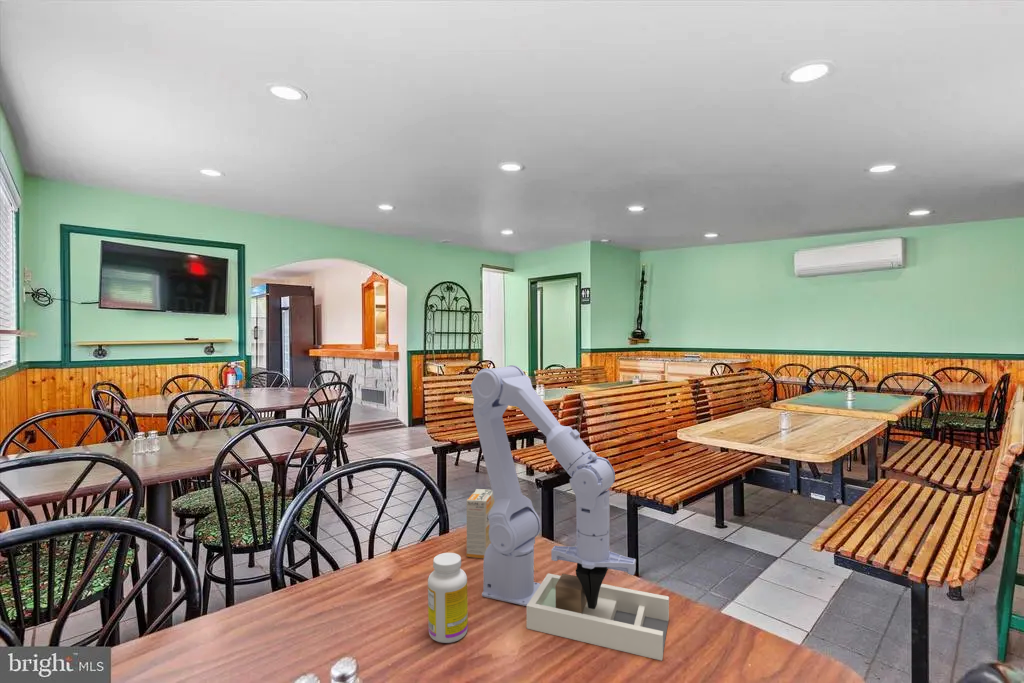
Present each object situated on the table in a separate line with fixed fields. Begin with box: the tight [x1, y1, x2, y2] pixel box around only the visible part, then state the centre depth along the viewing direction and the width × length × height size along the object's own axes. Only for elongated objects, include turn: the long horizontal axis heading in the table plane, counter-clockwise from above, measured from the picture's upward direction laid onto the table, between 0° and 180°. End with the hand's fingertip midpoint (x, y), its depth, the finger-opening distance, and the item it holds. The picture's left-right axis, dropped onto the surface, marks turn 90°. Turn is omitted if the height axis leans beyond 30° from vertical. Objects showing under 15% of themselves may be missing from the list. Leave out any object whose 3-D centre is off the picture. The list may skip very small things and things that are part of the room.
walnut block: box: [555, 573, 587, 614], centre depth 90 cm, size 4×4×4 cm
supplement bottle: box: [427, 552, 469, 644], centre depth 86 cm, size 7×7×13 cm
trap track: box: [526, 573, 670, 661], centre depth 89 cm, size 22×12×4 cm, turn 68°
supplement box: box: [466, 488, 494, 560], centre depth 117 cm, size 8×5×13 cm, turn 168°
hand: (592, 605), depth 89 cm, fingers closed
